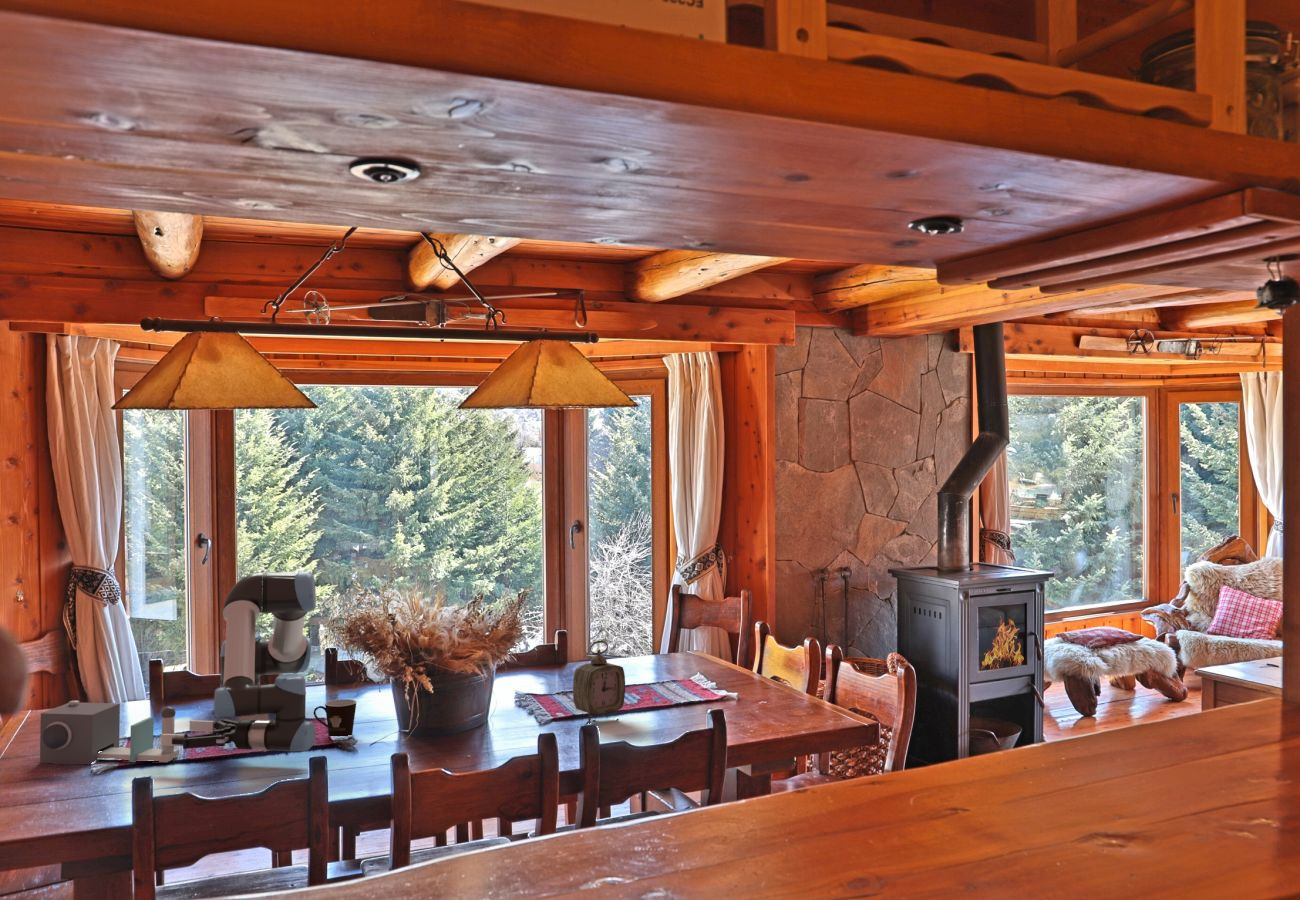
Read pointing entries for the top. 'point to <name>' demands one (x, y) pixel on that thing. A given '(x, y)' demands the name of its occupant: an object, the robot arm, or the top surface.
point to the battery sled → (146, 741)
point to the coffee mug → (339, 716)
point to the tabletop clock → (598, 686)
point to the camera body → (78, 732)
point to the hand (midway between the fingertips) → (176, 732)
